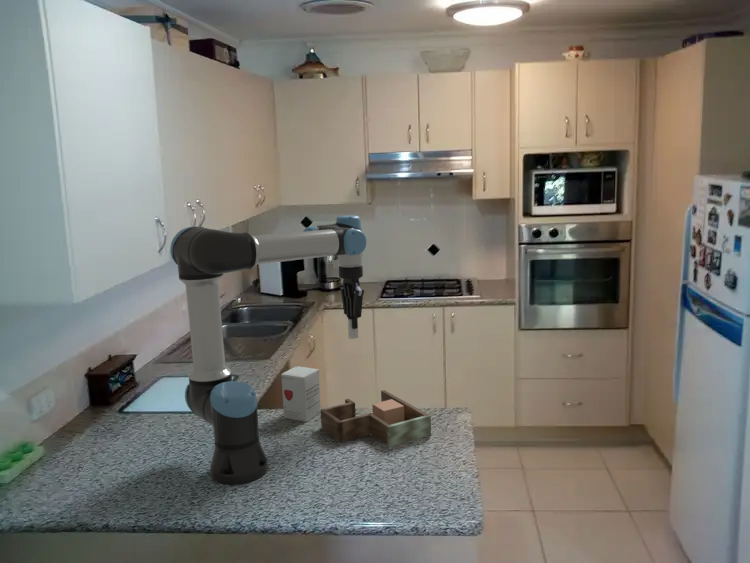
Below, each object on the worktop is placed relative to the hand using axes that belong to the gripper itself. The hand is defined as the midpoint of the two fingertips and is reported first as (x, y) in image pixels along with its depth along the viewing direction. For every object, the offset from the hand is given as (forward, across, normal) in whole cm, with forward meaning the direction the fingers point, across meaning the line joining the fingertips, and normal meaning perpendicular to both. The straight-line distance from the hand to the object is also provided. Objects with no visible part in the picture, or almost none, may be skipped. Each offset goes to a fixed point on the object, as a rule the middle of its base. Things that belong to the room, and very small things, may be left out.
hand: (353, 337), depth 217 cm
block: (+25, -17, -2) cm, 30 cm away
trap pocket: (+25, -13, +10) cm, 30 cm away
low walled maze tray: (+24, -17, -2) cm, 30 cm away
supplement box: (+25, +6, +17) cm, 30 cm away
